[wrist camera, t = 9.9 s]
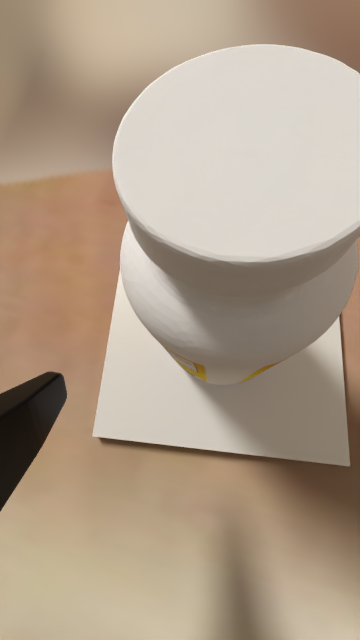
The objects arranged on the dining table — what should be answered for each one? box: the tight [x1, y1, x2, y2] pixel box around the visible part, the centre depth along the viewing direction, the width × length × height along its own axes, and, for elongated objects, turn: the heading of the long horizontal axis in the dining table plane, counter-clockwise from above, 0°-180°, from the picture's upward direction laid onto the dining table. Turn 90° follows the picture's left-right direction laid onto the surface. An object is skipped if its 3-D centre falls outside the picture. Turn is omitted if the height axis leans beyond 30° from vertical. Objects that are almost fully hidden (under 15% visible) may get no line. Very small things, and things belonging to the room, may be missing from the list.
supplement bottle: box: [112, 44, 360, 385], centre depth 11 cm, size 7×7×13 cm
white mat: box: [93, 269, 350, 466], centre depth 17 cm, size 14×14×1 cm
